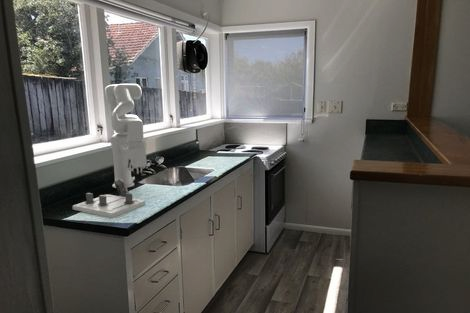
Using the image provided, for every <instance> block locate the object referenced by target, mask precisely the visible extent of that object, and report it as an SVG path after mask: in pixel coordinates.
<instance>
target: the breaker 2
mask: <svg viewBox="0 0 470 313" xmlns="http://www.w3.org/2000/svg"><path fill="white" fill-rule="evenodd" d="M105 195H106V194H100V195H98V197H99V204H98V205H101V206H105V205H108V204H109V203H107V202H106V196H105Z"/></svg>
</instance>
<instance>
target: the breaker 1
mask: <svg viewBox="0 0 470 313" xmlns="http://www.w3.org/2000/svg"><path fill="white" fill-rule="evenodd" d="M85 198H86V199H85V200H86V201H84V202H85V203H90V204H91V203H94V202H95V201H93V199H94V193H93V192H92V193H91V192H87V193H86V192H85Z"/></svg>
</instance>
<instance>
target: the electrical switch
mask: <svg viewBox="0 0 470 313" xmlns="http://www.w3.org/2000/svg"><path fill="white" fill-rule="evenodd" d="M118 179H119V180H117V181H115V180H114V183H115V186H116V188H115V189H116V191H117V193H118V196H121V197H125V194H126V193H129V190H128V188H127V187H126V184H125V182H124V181H123V180H122V179H120V178H118ZM114 183H113V184H114Z"/></svg>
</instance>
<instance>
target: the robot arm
mask: <svg viewBox="0 0 470 313" xmlns="http://www.w3.org/2000/svg"><path fill="white" fill-rule="evenodd" d="M104 92H105V98H106V100H107V103H108V105H109V109H110V118H111V119H110V120H111V127H112V130H113V131H114V132H115V134H113V135H112V136H110V145H111V149H112V150H111V151H112V156H113V157H112V159H113V169H114V170H113V172H114V182H115V181H117V180H119V179H118V178H120V179H122V180H123V181H124V182H125V184H126V187H127V189H128V188H131V187H134V186H135V182H142V181H143V180H142V179H143V178H142V173H143V170H144V169H146V167H147V166H146V165H147V163H148V162H147V152H146V149H145V141H144V140H145V139H144V123H143V121H142V120H141V119H140V118H139V116H138V115H136V114H128V113H130V112H132V111H133V110H134V108H135V102H134V100H140V99H141V97H142V95H143V94H142V93H143V92H142V88H141V86H140V85H139V84H137V83H119V84H109V85H107V86H106V87H105V88H104ZM132 173H133V175H134V176H132ZM112 188H115V189H117V188H116V186H115V183H113V184H112Z"/></svg>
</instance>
